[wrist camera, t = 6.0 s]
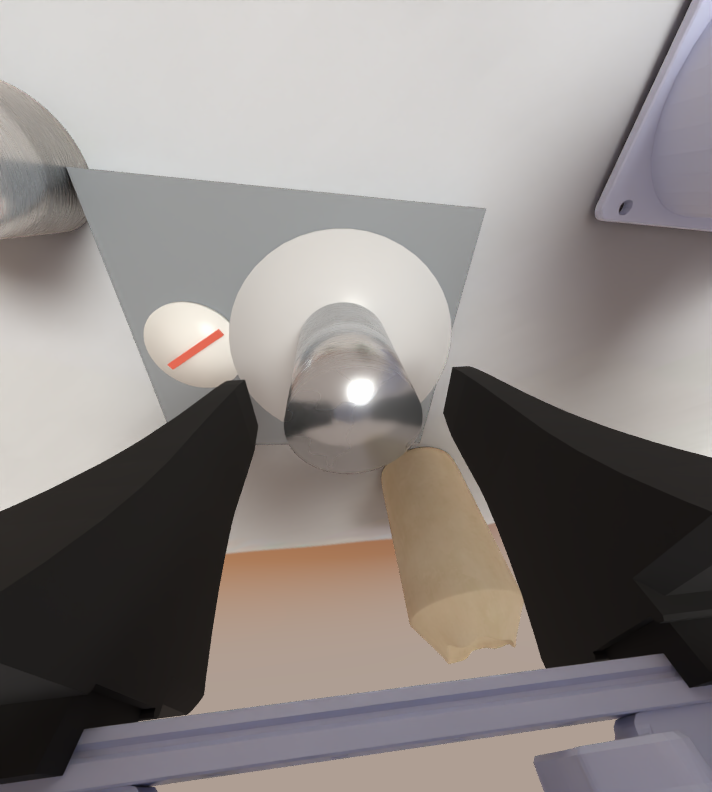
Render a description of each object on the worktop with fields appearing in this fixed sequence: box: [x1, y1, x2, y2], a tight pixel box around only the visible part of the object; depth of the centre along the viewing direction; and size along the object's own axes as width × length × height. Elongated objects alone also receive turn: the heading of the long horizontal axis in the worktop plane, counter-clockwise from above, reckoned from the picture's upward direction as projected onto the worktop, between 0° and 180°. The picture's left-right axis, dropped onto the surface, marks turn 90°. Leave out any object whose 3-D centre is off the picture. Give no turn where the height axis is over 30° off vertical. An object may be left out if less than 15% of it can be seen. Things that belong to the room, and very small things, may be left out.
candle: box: [381, 447, 524, 664], centre depth 16 cm, size 6×6×10 cm
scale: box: [66, 167, 486, 445], centre depth 13 cm, size 14×12×1 cm
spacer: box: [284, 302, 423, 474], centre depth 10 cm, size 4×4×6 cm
